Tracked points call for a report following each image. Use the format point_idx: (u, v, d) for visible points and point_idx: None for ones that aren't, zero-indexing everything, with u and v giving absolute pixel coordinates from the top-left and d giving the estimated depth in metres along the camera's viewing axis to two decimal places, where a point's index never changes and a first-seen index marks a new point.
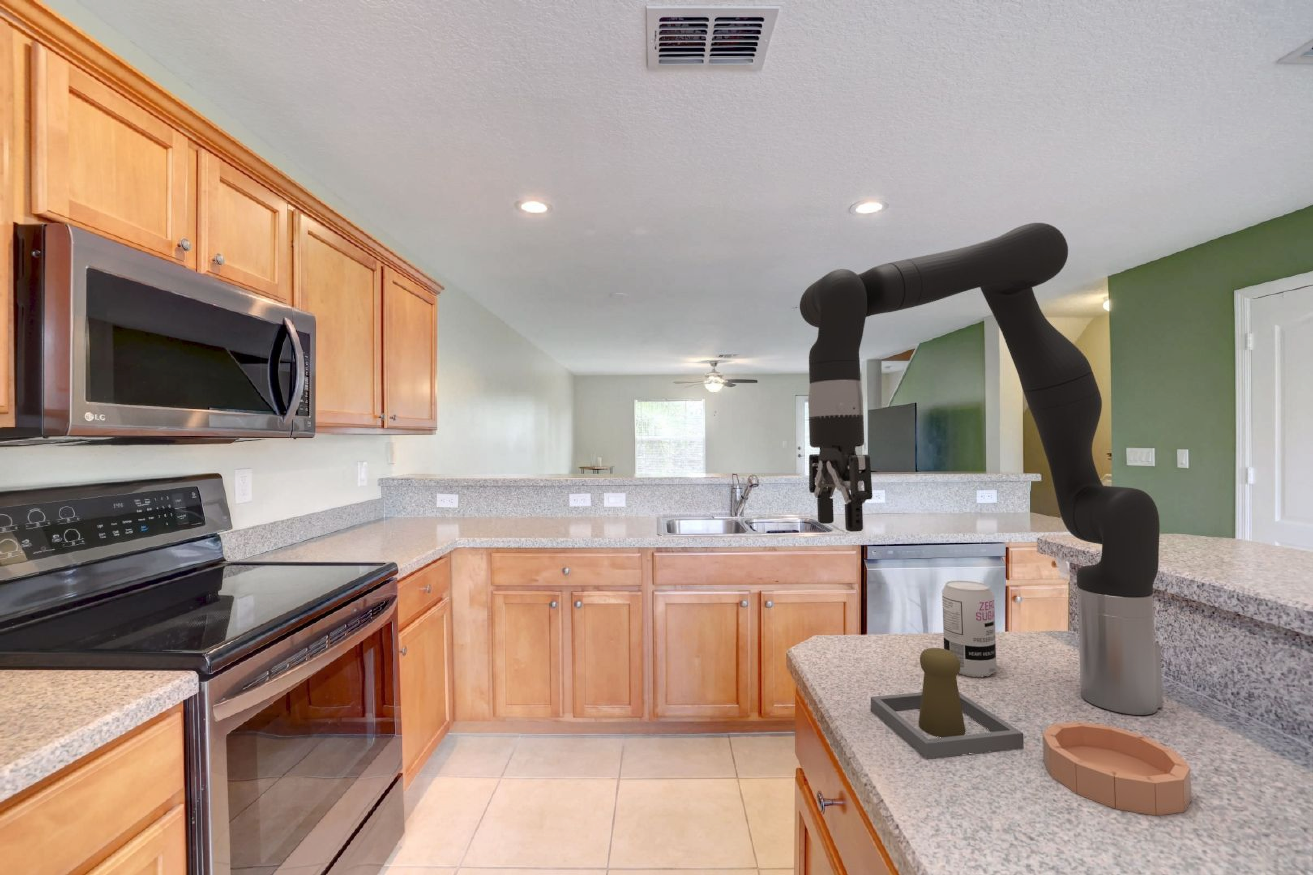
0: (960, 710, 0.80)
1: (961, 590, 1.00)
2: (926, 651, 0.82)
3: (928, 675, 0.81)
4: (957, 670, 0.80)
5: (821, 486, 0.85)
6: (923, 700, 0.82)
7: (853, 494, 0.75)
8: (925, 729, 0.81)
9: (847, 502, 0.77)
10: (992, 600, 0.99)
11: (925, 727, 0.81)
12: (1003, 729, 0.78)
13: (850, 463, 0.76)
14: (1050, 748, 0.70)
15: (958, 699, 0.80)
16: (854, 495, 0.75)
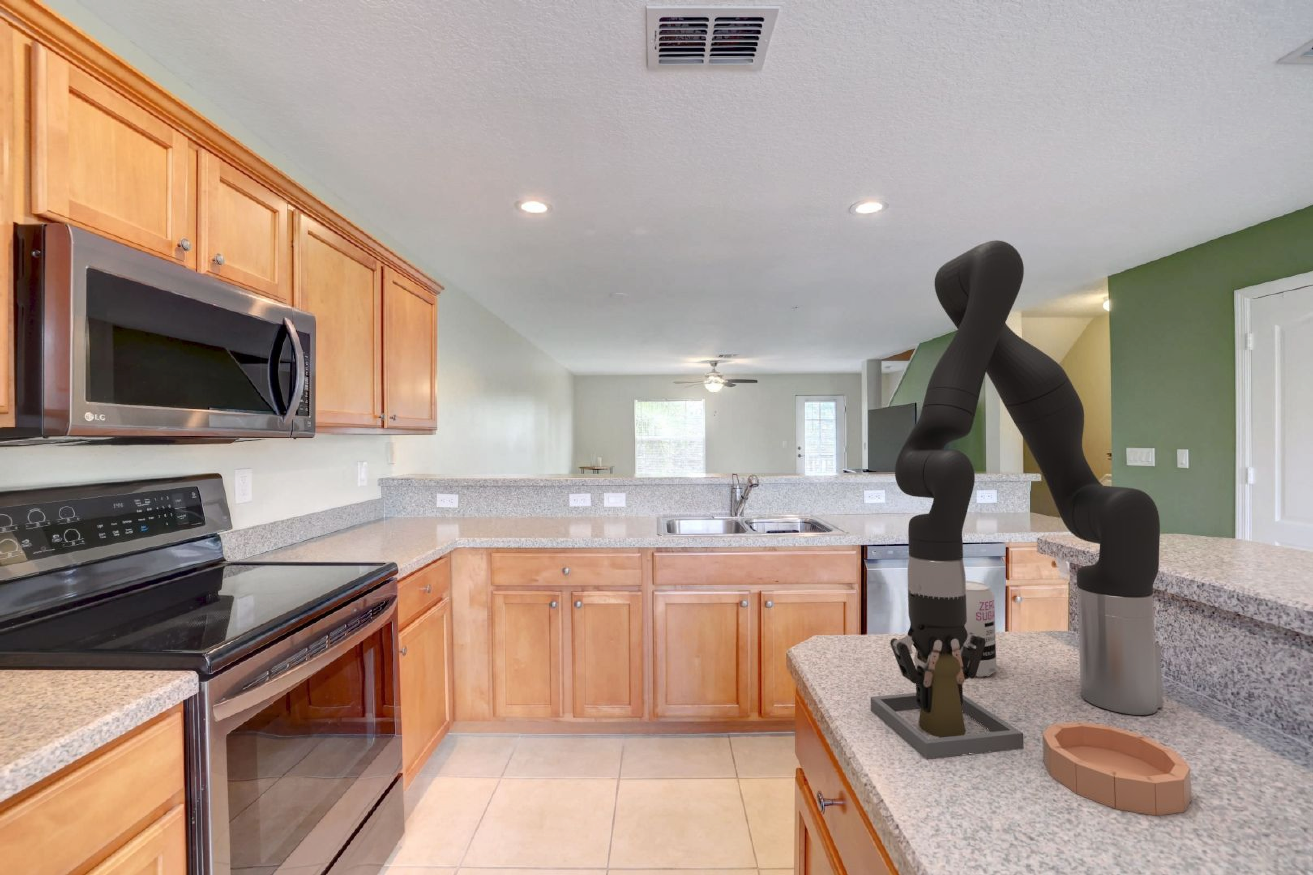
0: (960, 710, 0.80)
1: None
2: None
3: None
4: (957, 670, 0.80)
5: None
6: None
7: (973, 673, 0.81)
8: (925, 729, 0.81)
9: (960, 683, 0.81)
10: (992, 600, 0.99)
11: (925, 727, 0.81)
12: (1003, 729, 0.78)
13: (979, 645, 0.82)
14: (1050, 748, 0.70)
15: (958, 699, 0.80)
16: (974, 673, 0.81)
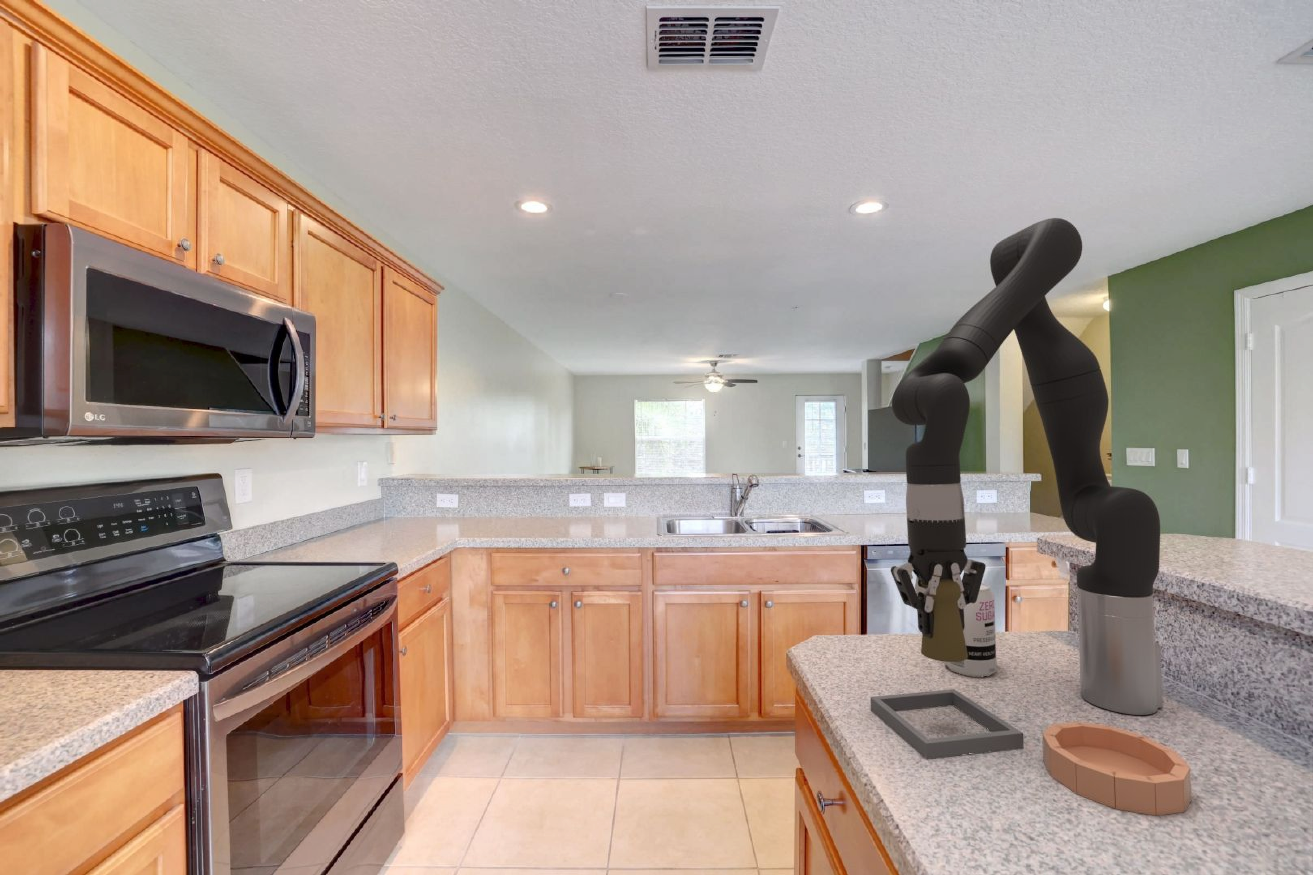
0: (962, 634, 0.80)
1: None
2: None
3: None
4: (958, 594, 0.80)
5: None
6: None
7: (974, 597, 0.81)
8: (928, 655, 0.81)
9: (962, 607, 0.81)
10: (992, 600, 0.99)
11: (927, 653, 0.81)
12: (1003, 729, 0.78)
13: (979, 569, 0.82)
14: (1050, 748, 0.70)
15: (960, 623, 0.80)
16: (975, 598, 0.81)
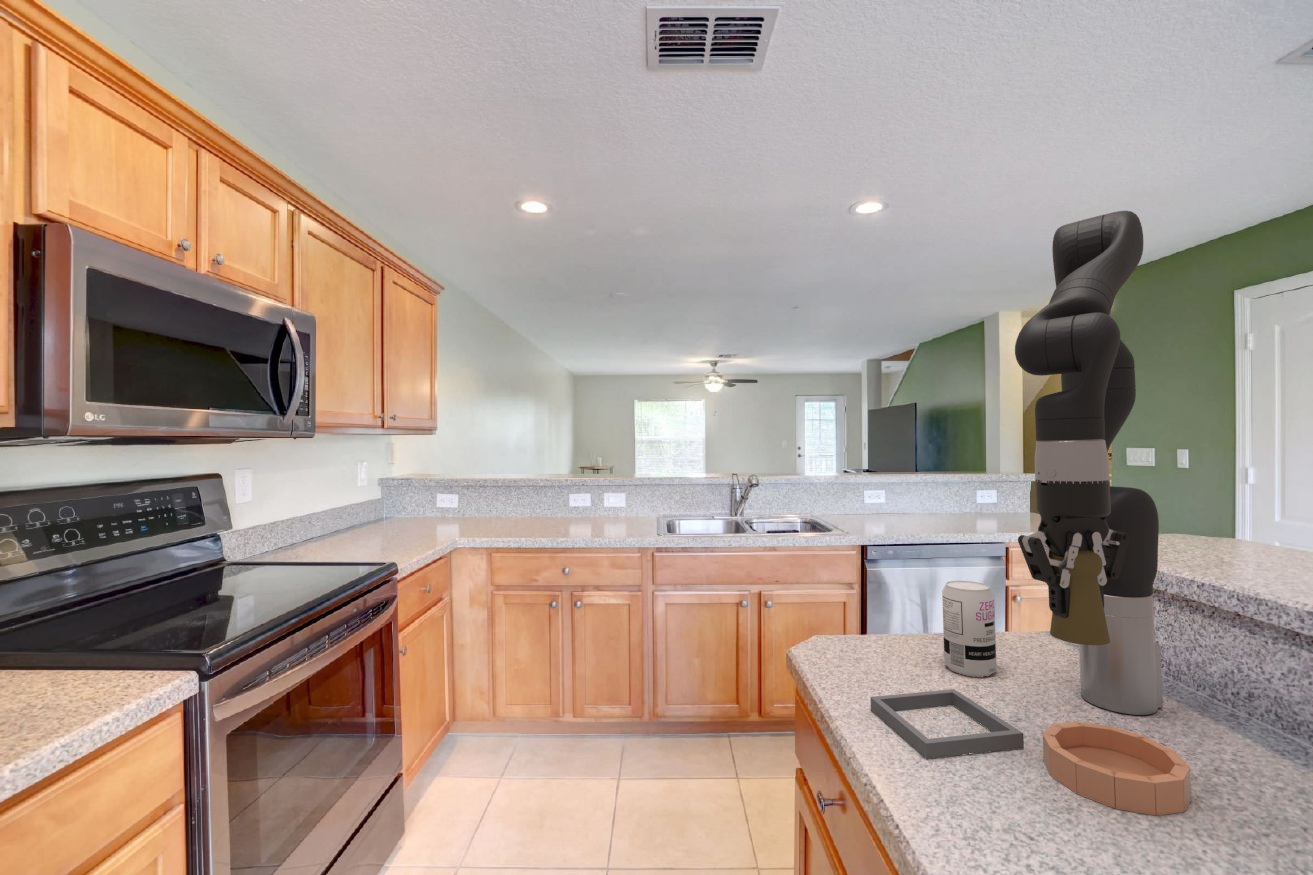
0: (1104, 614, 0.69)
1: (961, 590, 1.00)
2: None
3: None
4: (1100, 568, 0.69)
5: None
6: None
7: (1116, 573, 0.71)
8: (1061, 637, 0.70)
9: (1102, 584, 0.70)
10: (992, 600, 0.99)
11: (1061, 635, 0.70)
12: (1003, 729, 0.78)
13: (1123, 541, 0.71)
14: (1050, 748, 0.70)
15: (1101, 602, 0.69)
16: (1118, 573, 0.71)
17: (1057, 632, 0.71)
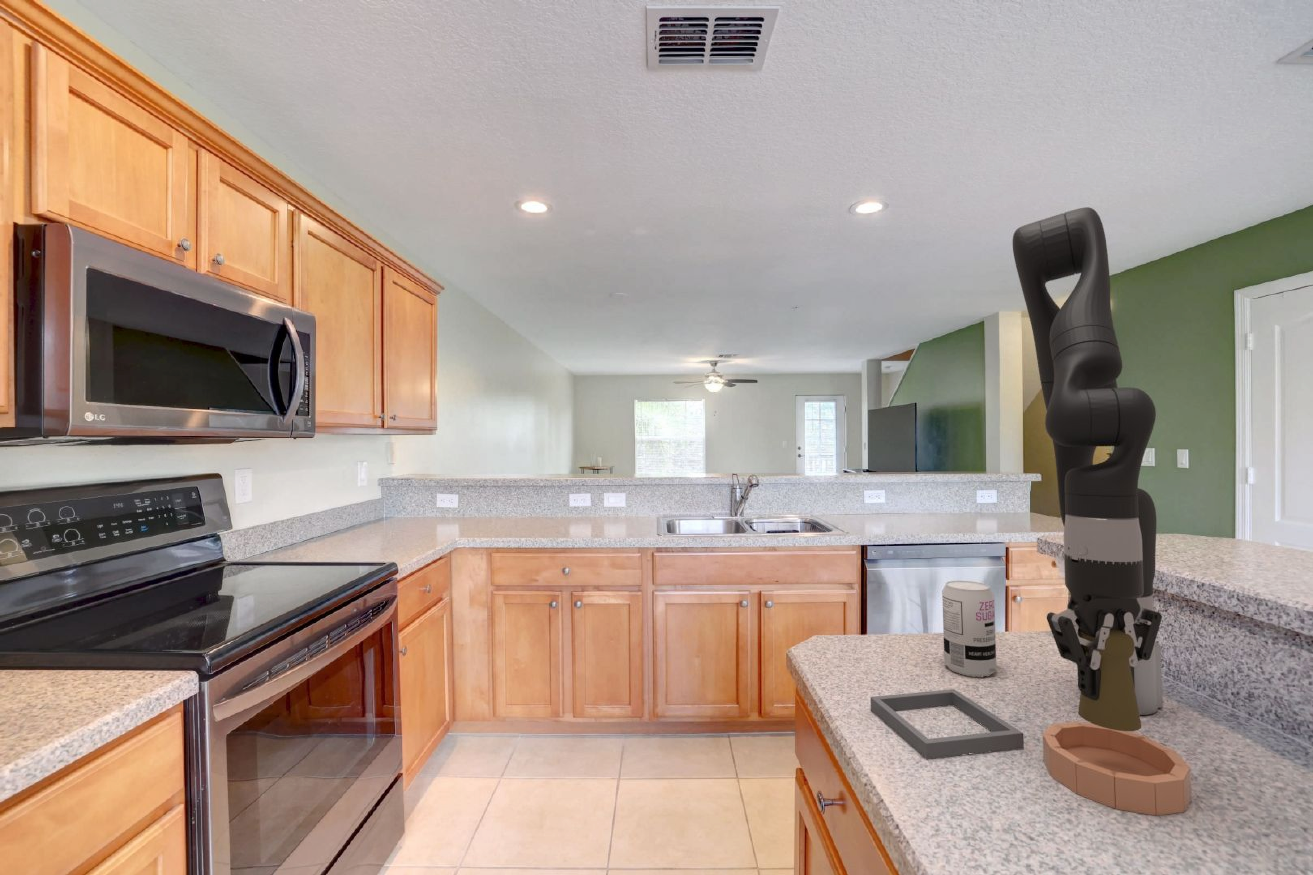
0: (1135, 698, 0.67)
1: (961, 590, 1.00)
2: None
3: None
4: (1133, 650, 0.67)
5: None
6: None
7: (1148, 653, 0.69)
8: (1091, 720, 0.68)
9: (1133, 665, 0.68)
10: (992, 600, 0.99)
11: (1091, 717, 0.68)
12: (1003, 729, 0.78)
13: (1155, 620, 0.69)
14: (1050, 748, 0.70)
15: (1133, 684, 0.67)
16: (1149, 654, 0.69)
17: (1086, 714, 0.69)
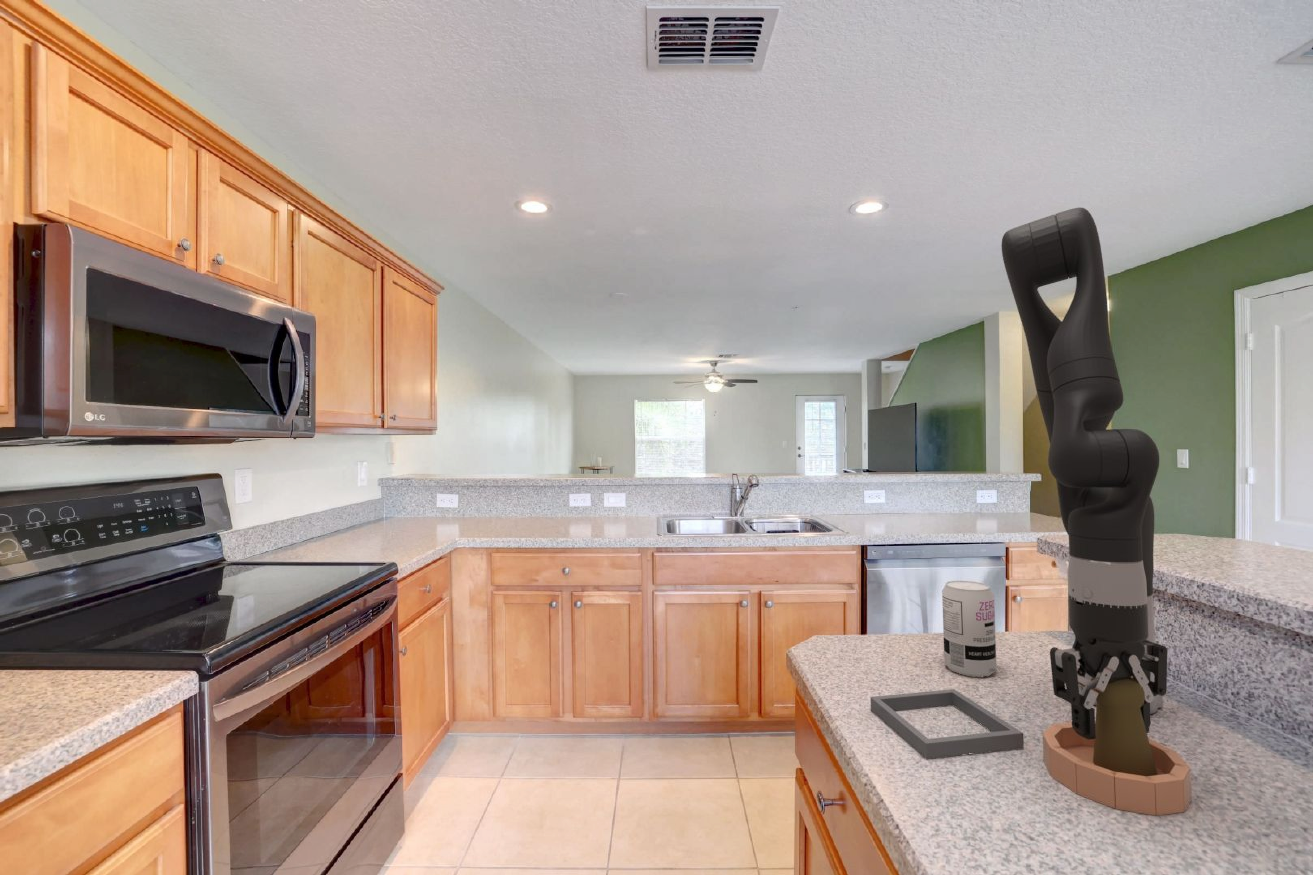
0: (1149, 747, 0.67)
1: (961, 590, 1.00)
2: None
3: (1104, 706, 0.69)
4: (1142, 700, 0.67)
5: None
6: (1099, 735, 0.69)
7: (1163, 689, 0.69)
8: None
9: (1150, 700, 0.68)
10: (992, 600, 0.99)
11: (1105, 768, 0.68)
12: (1003, 729, 0.78)
13: (1161, 655, 0.69)
14: (1050, 748, 0.70)
15: (1145, 734, 0.67)
16: (1165, 690, 0.69)
17: (1100, 764, 0.69)
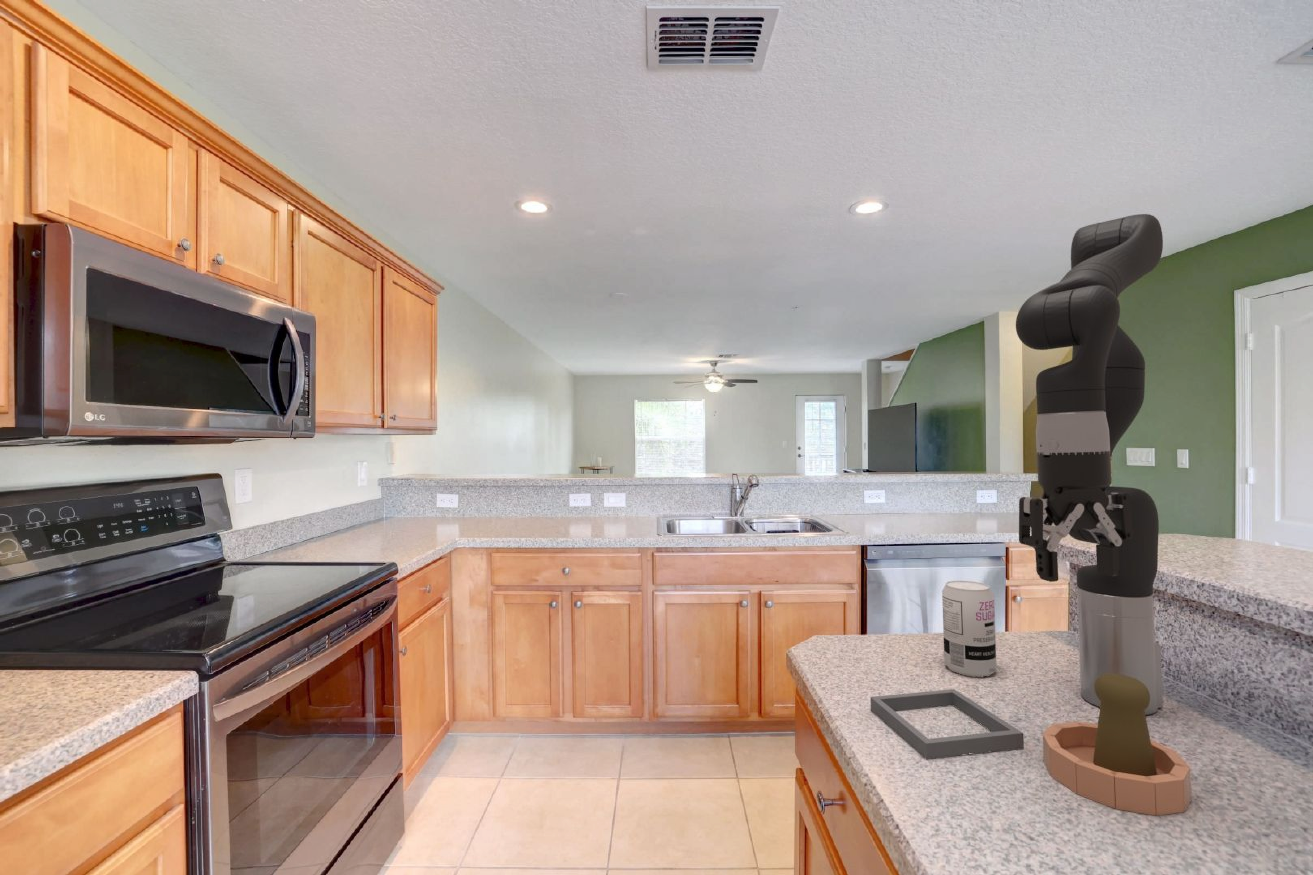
0: (1151, 750, 0.67)
1: (961, 590, 1.00)
2: (1104, 677, 0.70)
3: (1108, 706, 0.69)
4: (1148, 702, 0.67)
5: None
6: (1101, 735, 0.69)
7: (1131, 534, 0.72)
8: None
9: (1119, 544, 0.72)
10: (992, 600, 0.99)
11: (1105, 768, 0.68)
12: (1003, 729, 0.78)
13: (1125, 501, 0.72)
14: (1050, 748, 0.70)
15: (1148, 737, 0.67)
16: (1132, 534, 0.72)
17: (1100, 764, 0.69)
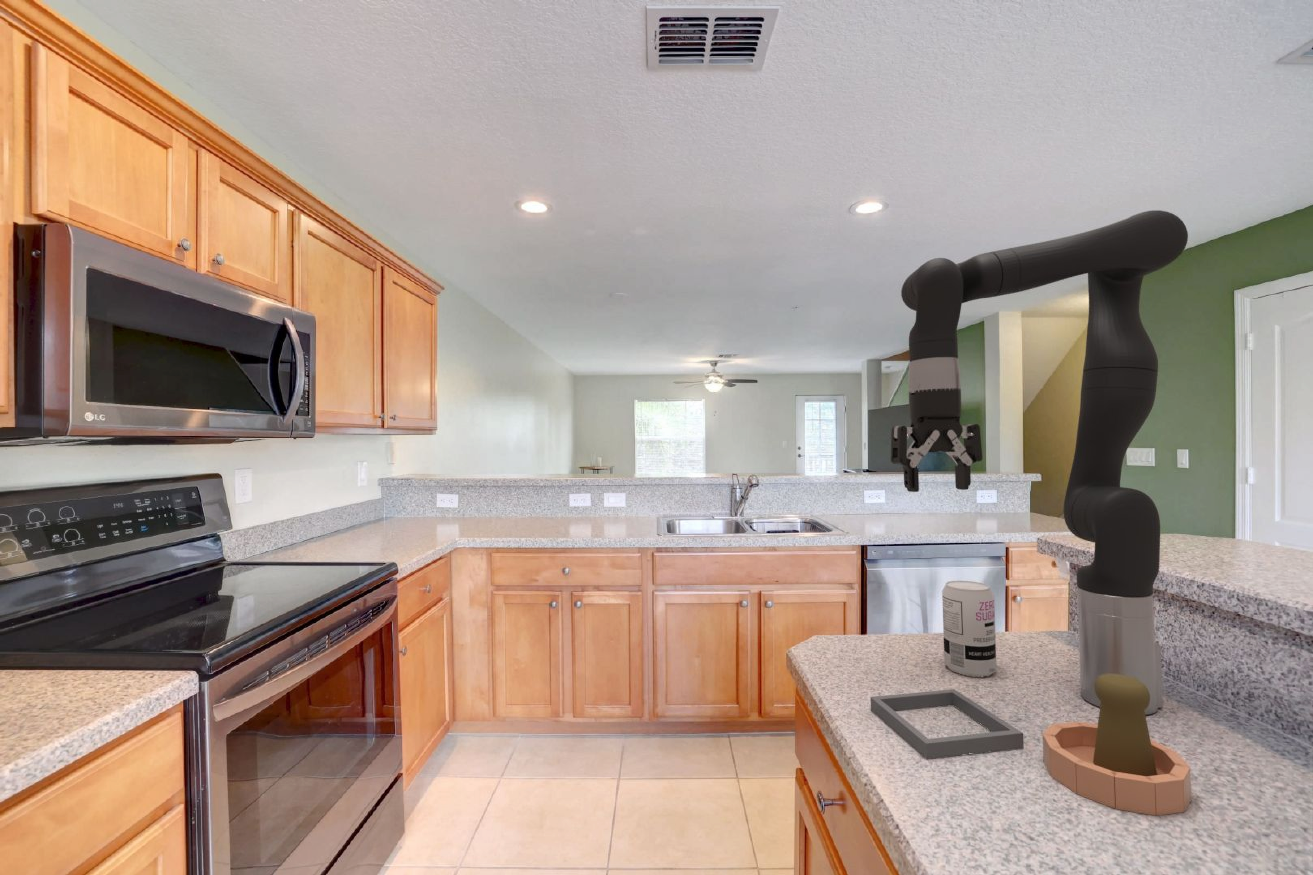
0: (1151, 750, 0.67)
1: (961, 590, 1.00)
2: (1104, 677, 0.70)
3: (1108, 706, 0.69)
4: (1148, 702, 0.67)
5: (923, 455, 0.90)
6: (1101, 735, 0.69)
7: (980, 456, 0.91)
8: None
9: (970, 464, 0.91)
10: (992, 600, 0.99)
11: (1105, 768, 0.68)
12: (1003, 729, 0.78)
13: (975, 431, 0.91)
14: (1050, 748, 0.70)
15: (1148, 737, 0.67)
16: (981, 457, 0.91)
17: (1100, 764, 0.69)
